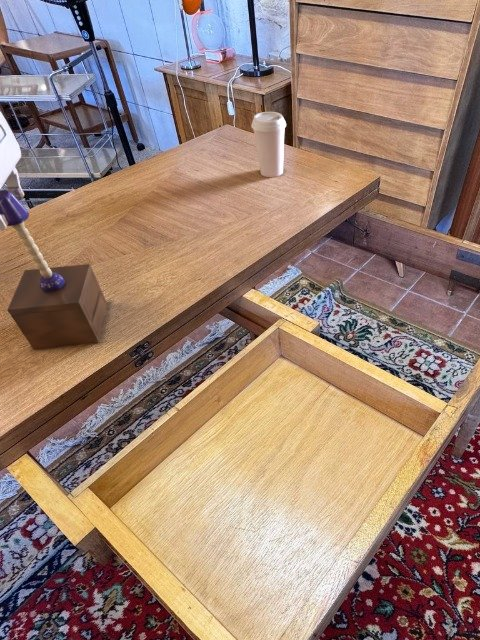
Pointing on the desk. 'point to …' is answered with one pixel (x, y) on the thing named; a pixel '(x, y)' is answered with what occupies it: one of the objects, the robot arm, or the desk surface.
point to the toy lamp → (28, 239)
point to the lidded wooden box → (59, 308)
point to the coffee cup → (269, 142)
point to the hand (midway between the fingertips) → (10, 212)
